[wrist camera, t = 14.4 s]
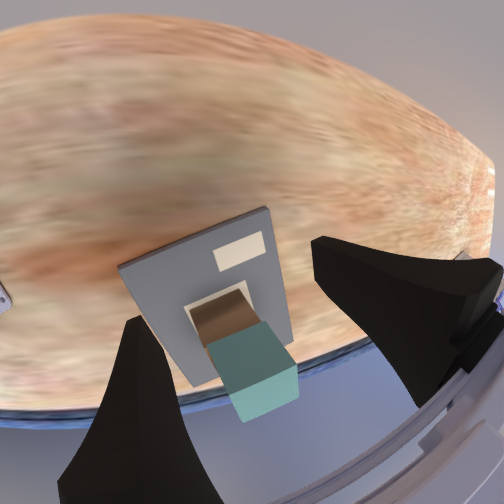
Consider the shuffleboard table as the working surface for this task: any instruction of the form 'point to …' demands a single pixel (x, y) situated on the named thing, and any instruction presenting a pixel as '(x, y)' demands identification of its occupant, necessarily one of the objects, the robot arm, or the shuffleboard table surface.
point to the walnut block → (223, 318)
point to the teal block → (255, 370)
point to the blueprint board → (209, 285)
